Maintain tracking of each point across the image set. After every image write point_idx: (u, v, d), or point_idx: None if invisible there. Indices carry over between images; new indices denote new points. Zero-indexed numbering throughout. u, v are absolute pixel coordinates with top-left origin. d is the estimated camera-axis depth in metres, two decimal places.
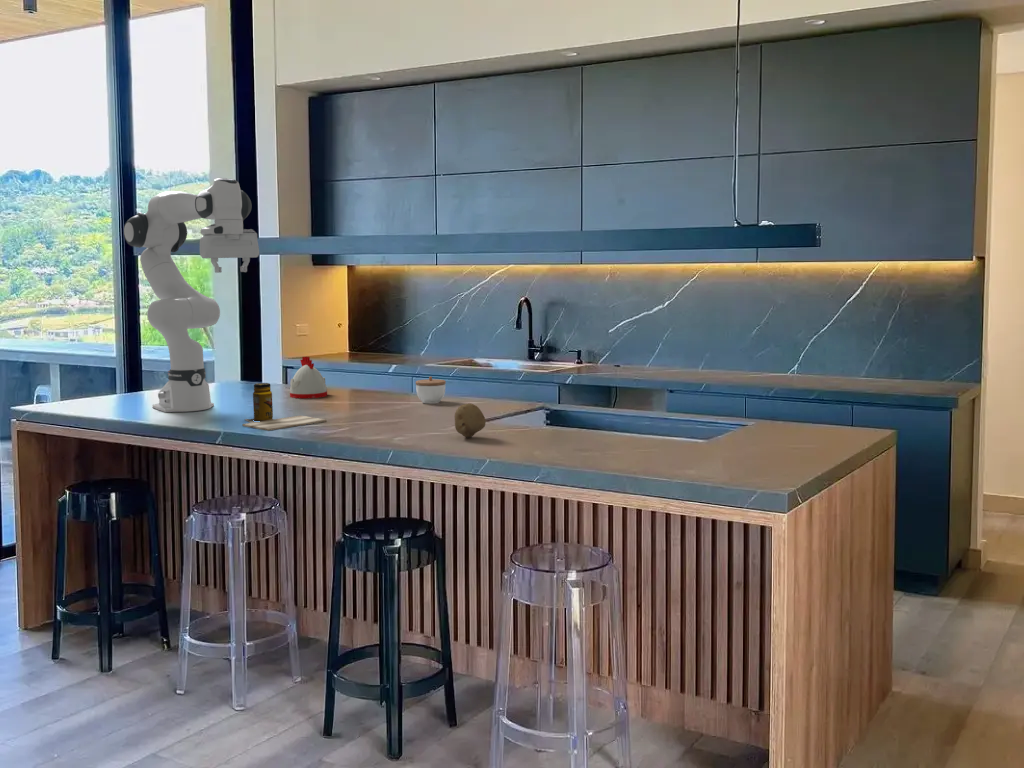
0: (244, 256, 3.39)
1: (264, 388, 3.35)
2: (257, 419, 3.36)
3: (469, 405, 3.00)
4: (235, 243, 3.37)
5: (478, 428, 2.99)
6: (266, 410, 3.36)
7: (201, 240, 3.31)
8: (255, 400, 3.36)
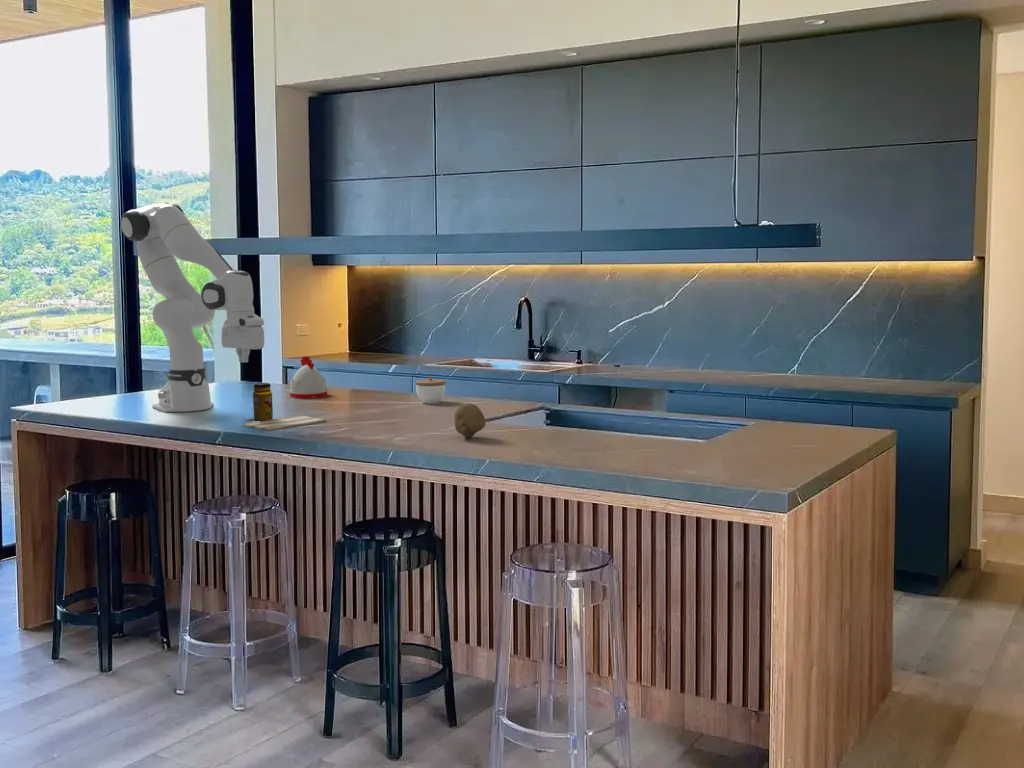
0: None
1: (264, 388, 3.35)
2: (257, 419, 3.36)
3: (469, 405, 3.00)
4: None
5: (478, 428, 2.99)
6: (266, 410, 3.36)
7: (254, 331, 3.34)
8: (255, 400, 3.36)
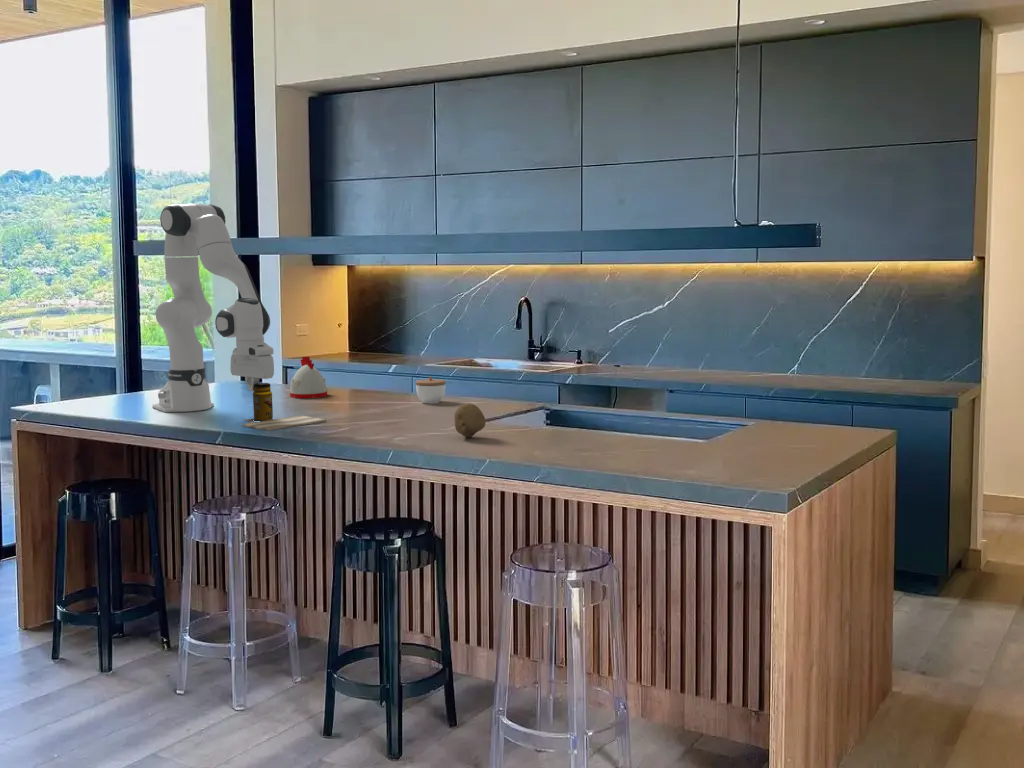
0: None
1: (264, 388, 3.35)
2: (257, 419, 3.36)
3: (469, 405, 3.00)
4: None
5: (478, 428, 2.99)
6: (266, 410, 3.36)
7: (264, 361, 3.32)
8: (255, 400, 3.36)
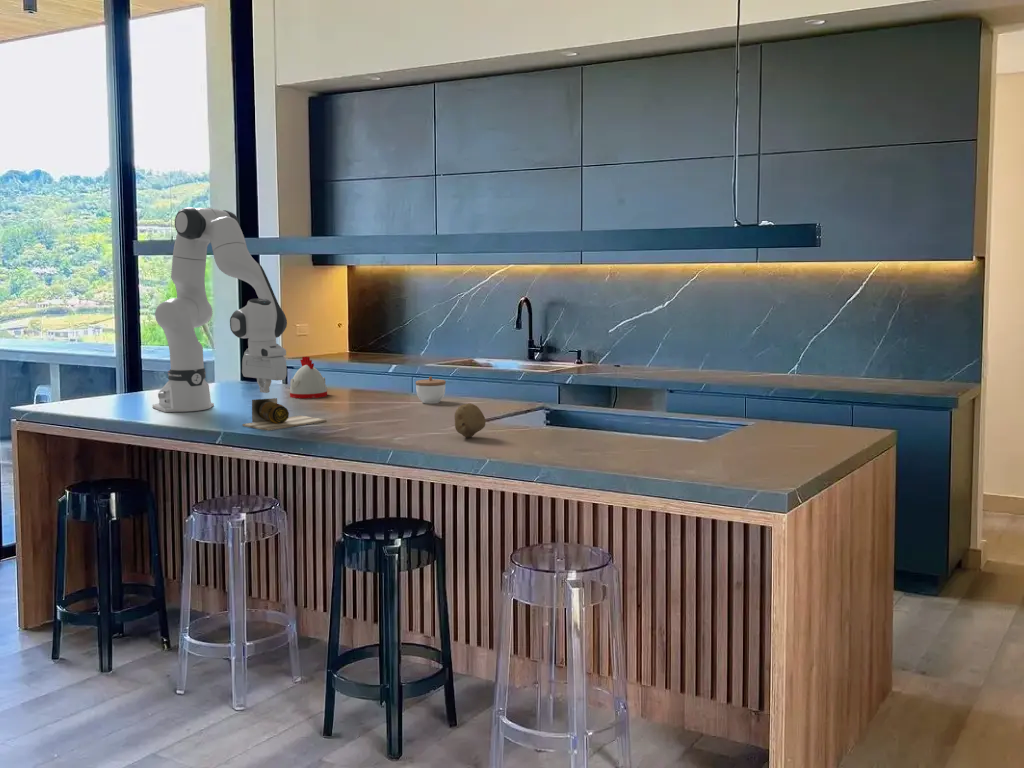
0: None
1: (279, 422, 3.27)
2: (260, 415, 3.34)
3: (469, 405, 3.00)
4: None
5: (478, 428, 2.99)
6: None
7: (277, 362, 3.27)
8: (266, 416, 3.29)
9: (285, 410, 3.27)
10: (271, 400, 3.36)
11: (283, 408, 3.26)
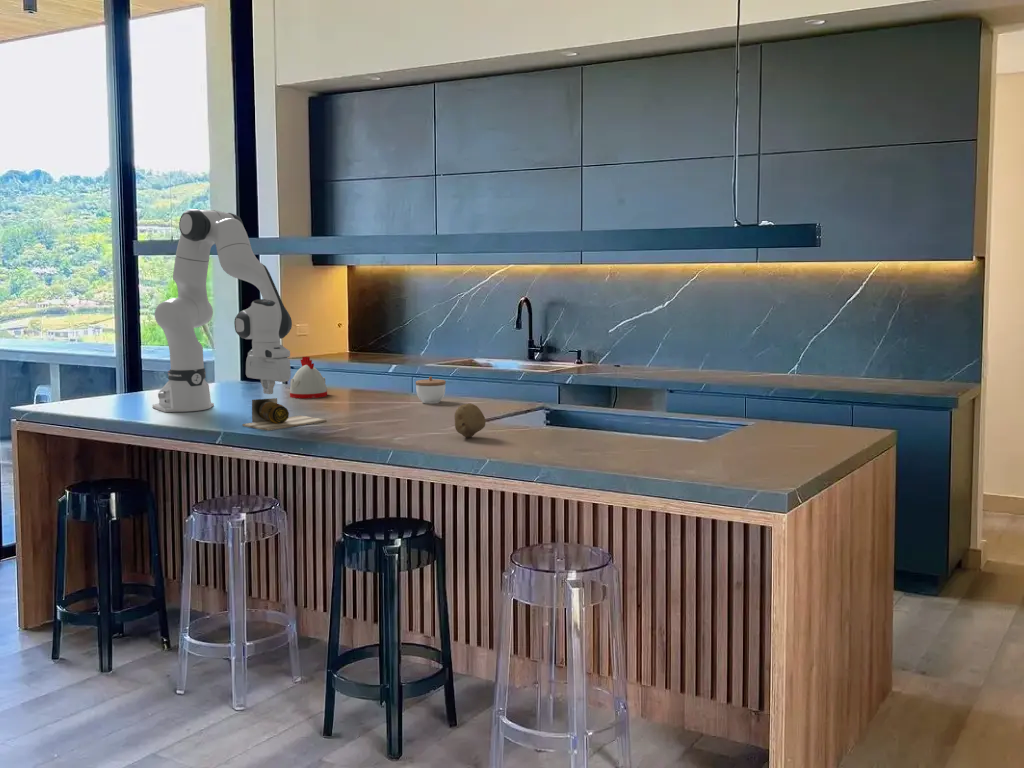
0: None
1: (279, 422, 3.27)
2: (260, 415, 3.34)
3: (469, 405, 3.00)
4: None
5: (478, 428, 2.99)
6: None
7: (281, 364, 3.26)
8: (266, 416, 3.29)
9: (285, 410, 3.27)
10: (271, 400, 3.36)
11: (283, 408, 3.26)
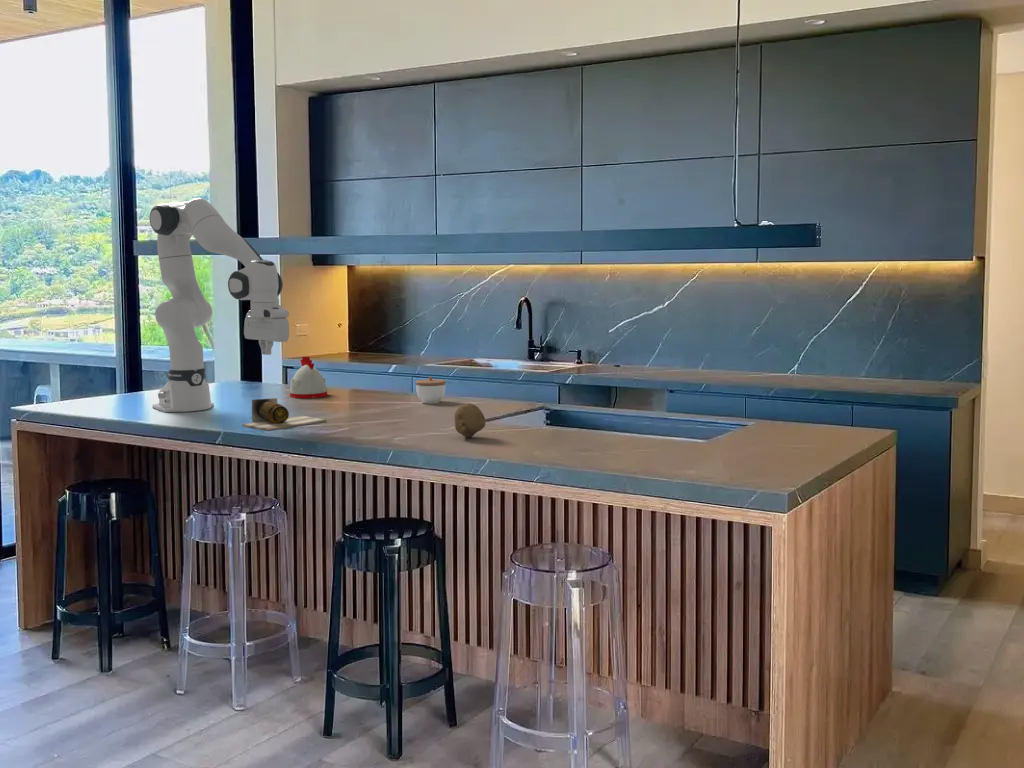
0: None
1: (279, 422, 3.27)
2: (260, 415, 3.34)
3: (469, 405, 3.00)
4: None
5: (478, 428, 2.99)
6: None
7: (279, 324, 3.24)
8: (266, 416, 3.29)
9: (285, 410, 3.27)
10: (271, 400, 3.36)
11: (283, 408, 3.26)
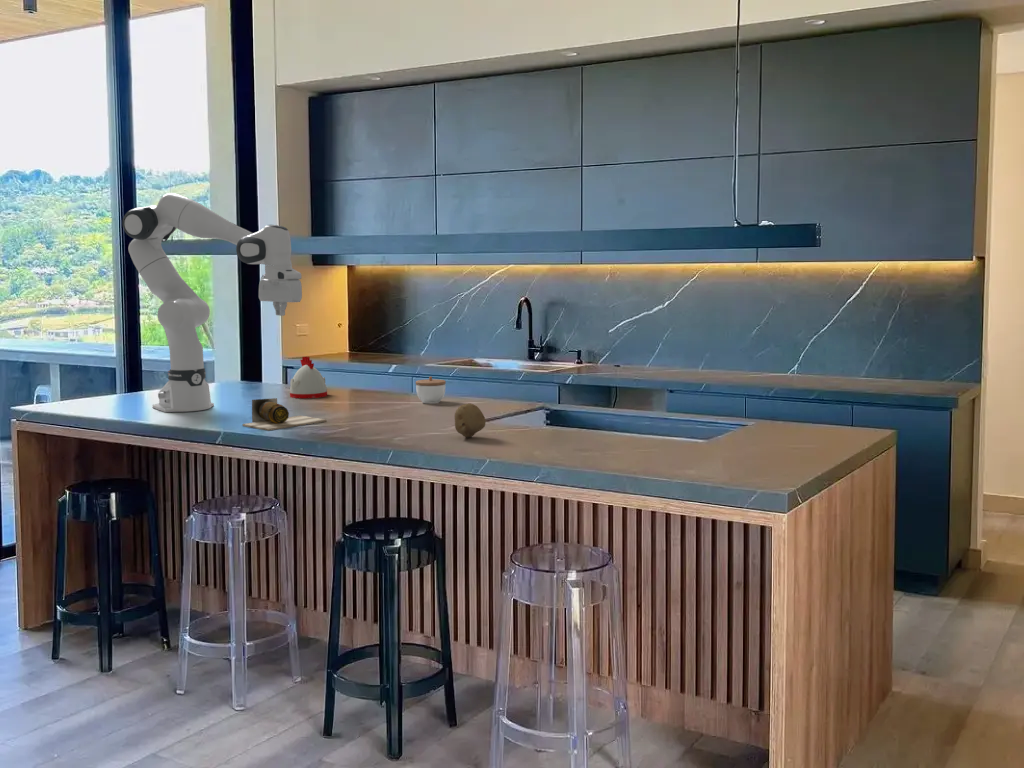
0: None
1: (279, 422, 3.27)
2: (260, 415, 3.34)
3: (469, 405, 3.00)
4: None
5: (478, 428, 2.99)
6: None
7: (293, 285, 3.41)
8: (266, 416, 3.29)
9: (285, 410, 3.27)
10: (271, 400, 3.36)
11: (283, 408, 3.26)
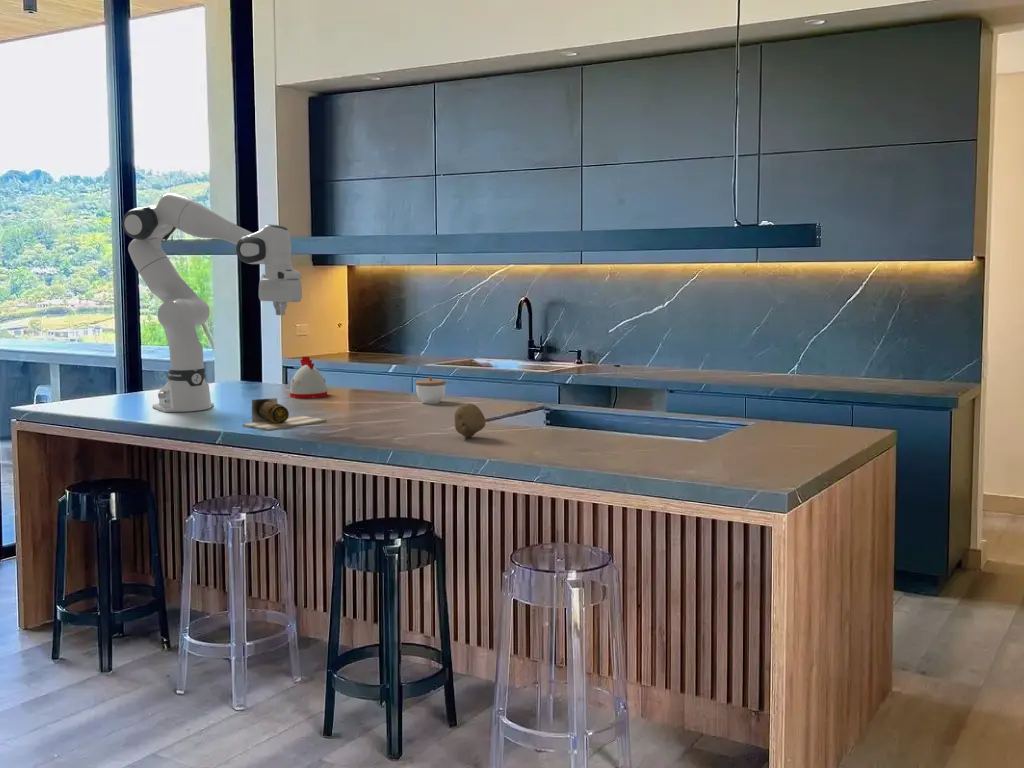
0: None
1: (279, 422, 3.27)
2: (260, 415, 3.34)
3: (469, 405, 3.00)
4: None
5: (478, 428, 2.99)
6: None
7: (293, 285, 3.41)
8: (266, 416, 3.29)
9: (285, 410, 3.27)
10: (271, 400, 3.36)
11: (283, 408, 3.26)
